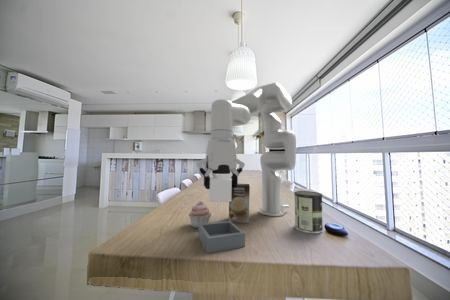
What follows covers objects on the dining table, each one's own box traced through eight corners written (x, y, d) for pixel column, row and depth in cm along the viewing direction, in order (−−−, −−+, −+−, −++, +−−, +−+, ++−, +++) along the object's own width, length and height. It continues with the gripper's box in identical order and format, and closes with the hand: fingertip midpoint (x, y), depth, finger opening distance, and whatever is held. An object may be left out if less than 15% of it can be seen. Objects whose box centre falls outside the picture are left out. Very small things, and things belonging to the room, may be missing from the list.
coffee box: (228, 222, 78) (228, 184, 79) (229, 217, 85) (229, 183, 86) (249, 223, 78) (249, 185, 78) (249, 218, 84) (249, 183, 85)
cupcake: (189, 231, 68) (189, 204, 69) (187, 222, 77) (188, 199, 78) (213, 229, 70) (214, 203, 71) (209, 221, 79) (209, 198, 80)
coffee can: (318, 225, 76) (317, 191, 77) (326, 235, 66) (326, 196, 67) (292, 223, 78) (292, 190, 79) (297, 232, 68) (296, 194, 69)
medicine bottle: (231, 201, 57) (232, 163, 58) (209, 201, 57) (210, 163, 58) (230, 197, 64) (231, 163, 65) (210, 197, 64) (211, 163, 65)
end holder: (229, 232, 68) (230, 220, 68) (244, 246, 56) (245, 233, 57) (198, 236, 63) (198, 224, 64) (207, 253, 52) (208, 238, 52)
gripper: (239, 139, 69) (239, 185, 67) (194, 136, 62) (193, 187, 61) (249, 137, 62) (249, 188, 60) (199, 133, 55) (198, 190, 54)
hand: (220, 187), depth 61 cm, fingers closed on medicine bottle, 9 cm apart
